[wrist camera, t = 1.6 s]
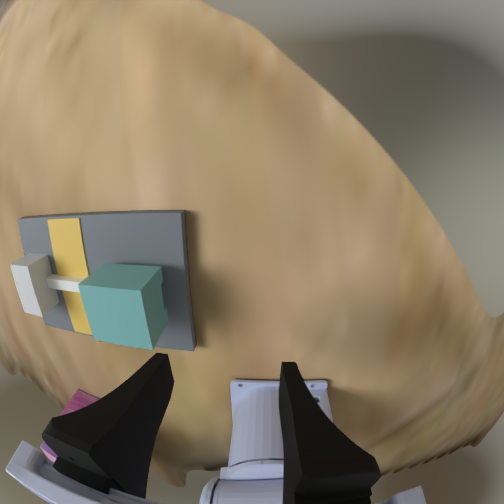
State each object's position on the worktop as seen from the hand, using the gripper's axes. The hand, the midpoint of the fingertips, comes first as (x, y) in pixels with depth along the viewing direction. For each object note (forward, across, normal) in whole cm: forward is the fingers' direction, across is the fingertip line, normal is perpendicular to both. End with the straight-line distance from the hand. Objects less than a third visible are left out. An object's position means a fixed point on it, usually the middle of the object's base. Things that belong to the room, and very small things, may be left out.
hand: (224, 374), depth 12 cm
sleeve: (+8, +8, 0) cm, 11 cm away
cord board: (+9, +13, 0) cm, 16 cm away
